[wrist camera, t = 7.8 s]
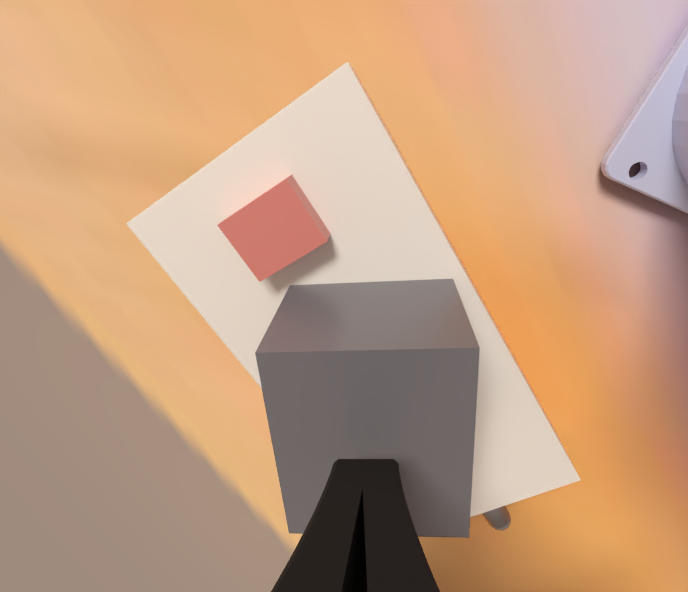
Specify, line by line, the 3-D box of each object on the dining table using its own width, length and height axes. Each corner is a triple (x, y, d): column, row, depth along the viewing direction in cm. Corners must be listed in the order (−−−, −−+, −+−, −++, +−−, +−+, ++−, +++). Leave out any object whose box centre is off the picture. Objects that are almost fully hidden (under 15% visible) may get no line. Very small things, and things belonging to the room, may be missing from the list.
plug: (444, 256, 15) (479, 347, 9) (442, 399, 17) (469, 537, 12) (301, 263, 15) (254, 352, 10) (318, 400, 18) (288, 533, 12)
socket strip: (586, 486, 19) (624, 558, 16) (424, 540, 21) (431, 612, 18) (353, 69, 13) (344, 58, 10) (164, 205, 15) (110, 230, 12)
